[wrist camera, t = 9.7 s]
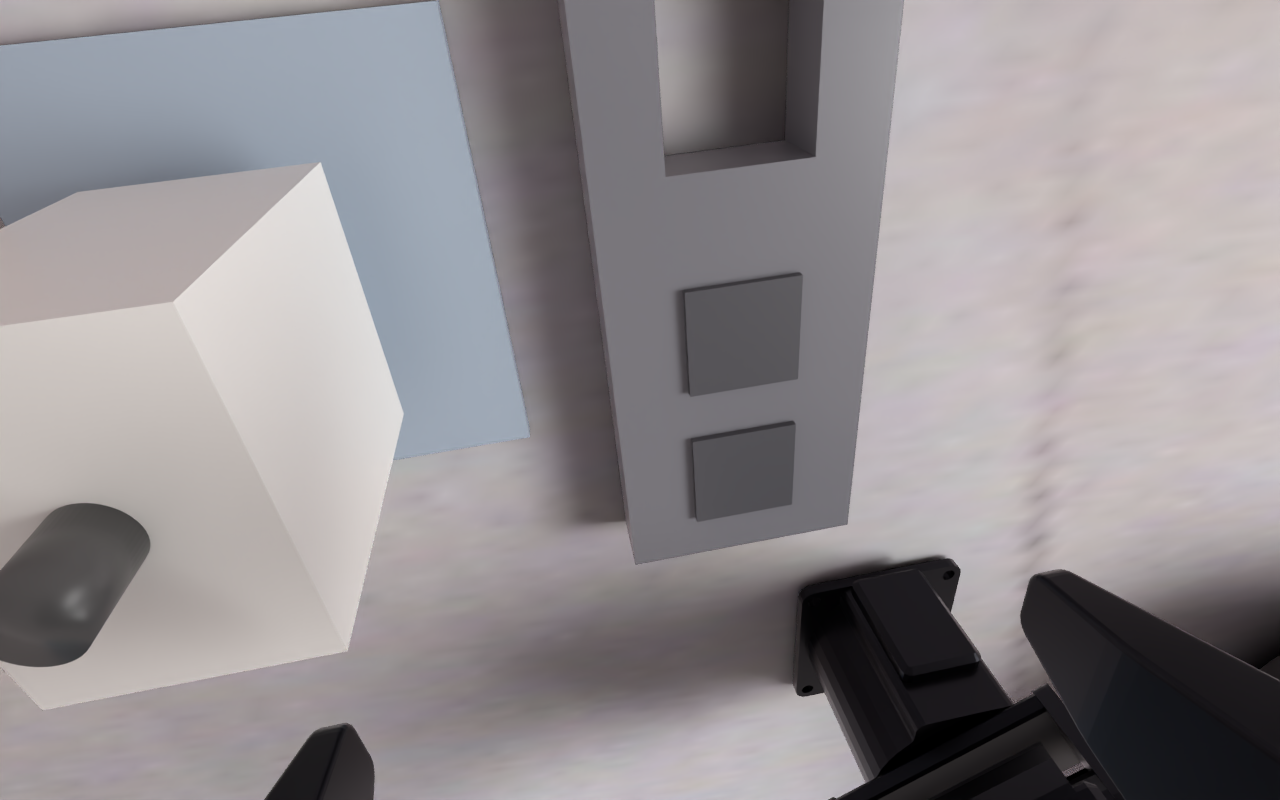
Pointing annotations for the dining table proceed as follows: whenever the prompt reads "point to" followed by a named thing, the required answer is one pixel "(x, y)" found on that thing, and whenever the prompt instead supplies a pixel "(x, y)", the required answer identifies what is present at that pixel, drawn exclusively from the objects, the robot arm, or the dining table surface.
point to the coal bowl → (1272, 668)
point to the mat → (292, 135)
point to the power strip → (734, 276)
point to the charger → (185, 434)
